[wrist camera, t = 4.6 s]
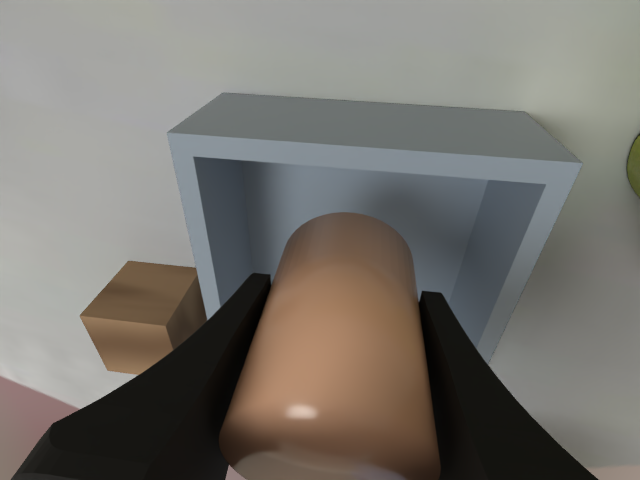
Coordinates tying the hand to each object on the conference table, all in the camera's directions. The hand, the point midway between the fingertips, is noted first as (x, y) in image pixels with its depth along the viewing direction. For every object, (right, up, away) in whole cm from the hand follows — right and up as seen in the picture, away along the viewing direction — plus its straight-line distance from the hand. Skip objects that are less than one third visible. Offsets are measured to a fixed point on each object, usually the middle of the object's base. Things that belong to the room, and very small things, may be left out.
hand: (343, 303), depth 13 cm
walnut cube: (-11, -1, +13) cm, 17 cm away
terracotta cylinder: (0, +1, +2) cm, 2 cm away
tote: (+1, +1, +9) cm, 9 cm away
